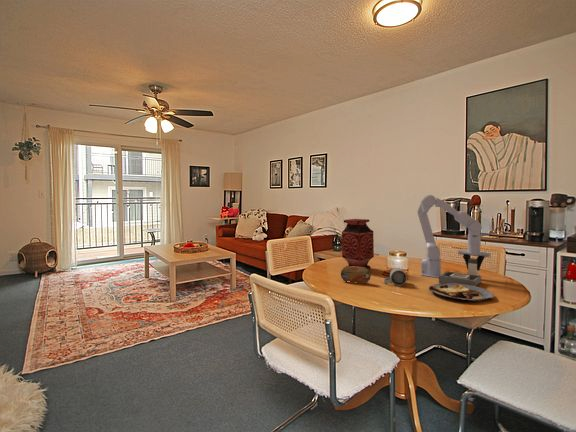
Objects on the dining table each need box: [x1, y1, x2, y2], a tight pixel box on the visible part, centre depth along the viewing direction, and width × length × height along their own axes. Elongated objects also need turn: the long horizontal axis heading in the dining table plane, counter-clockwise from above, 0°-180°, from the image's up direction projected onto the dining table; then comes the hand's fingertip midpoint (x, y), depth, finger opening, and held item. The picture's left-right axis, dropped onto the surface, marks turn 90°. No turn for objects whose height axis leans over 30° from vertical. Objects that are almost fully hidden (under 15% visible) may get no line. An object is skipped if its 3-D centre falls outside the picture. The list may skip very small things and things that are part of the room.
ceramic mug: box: [383, 268, 408, 287], centre depth 159 cm, size 11×8×8 cm
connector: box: [467, 257, 480, 276], centre depth 166 cm, size 4×4×9 cm
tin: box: [340, 265, 372, 284], centre depth 163 cm, size 15×3×8 cm, turn 65°
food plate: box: [428, 282, 495, 302], centre depth 140 cm, size 25×23×4 cm
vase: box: [341, 218, 375, 270], centre depth 192 cm, size 14×14×30 cm
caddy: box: [438, 271, 482, 287], centre depth 158 cm, size 16×12×4 cm
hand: (473, 269), depth 166 cm, fingers closed on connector, 4 cm apart
